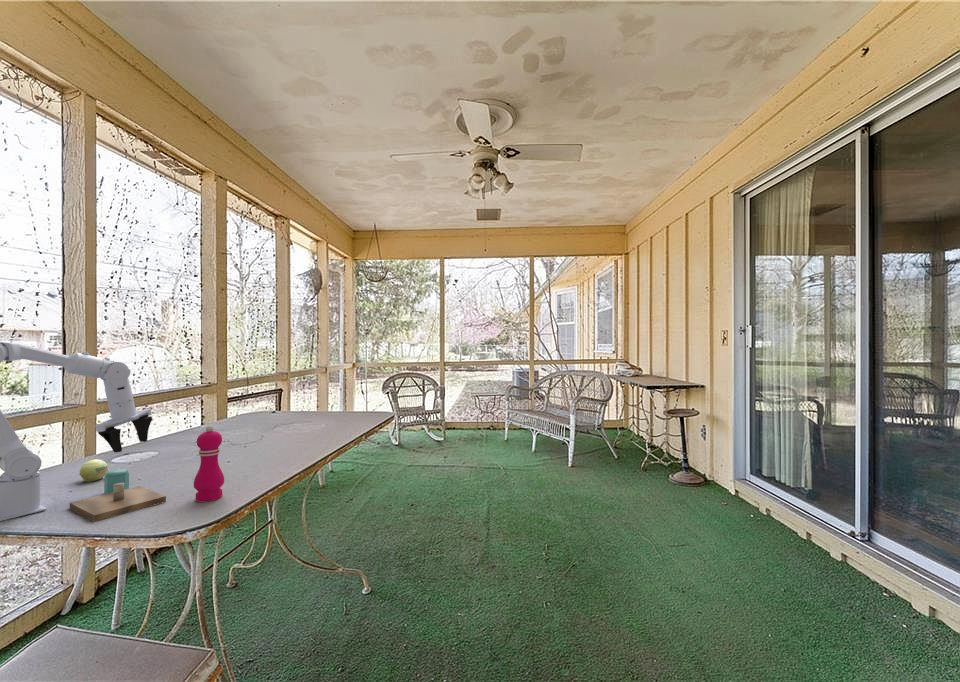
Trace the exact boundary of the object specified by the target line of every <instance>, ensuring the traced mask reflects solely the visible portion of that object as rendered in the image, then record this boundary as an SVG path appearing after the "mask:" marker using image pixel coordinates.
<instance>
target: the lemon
mask: <svg viewBox="0 0 960 682" xmlns="http://www.w3.org/2000/svg"><path fill="white" fill-rule="evenodd" d="M108 468H109V466H108V464H107V463H106V462H105V461H104V460H102V459H96V458H95V459H92V460H91V459H90V460H89V461H87V462H85V463H83V464H82V466H81V467H80V470H79V476H80V477H81V479H82V480H84V481H85V482H87V483H88V482H94V481H99V480H101V479H102V478H104V476H105V473H106V472H108V470H109V469H108Z"/></svg>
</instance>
